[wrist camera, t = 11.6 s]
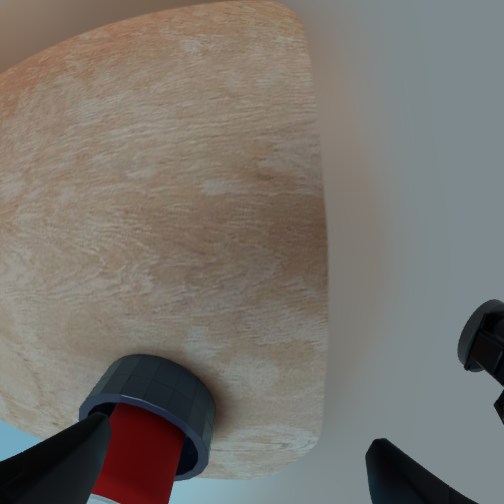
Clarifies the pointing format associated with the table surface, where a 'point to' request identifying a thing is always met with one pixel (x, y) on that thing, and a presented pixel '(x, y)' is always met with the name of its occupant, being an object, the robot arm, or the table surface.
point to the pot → (160, 403)
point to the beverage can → (138, 458)
